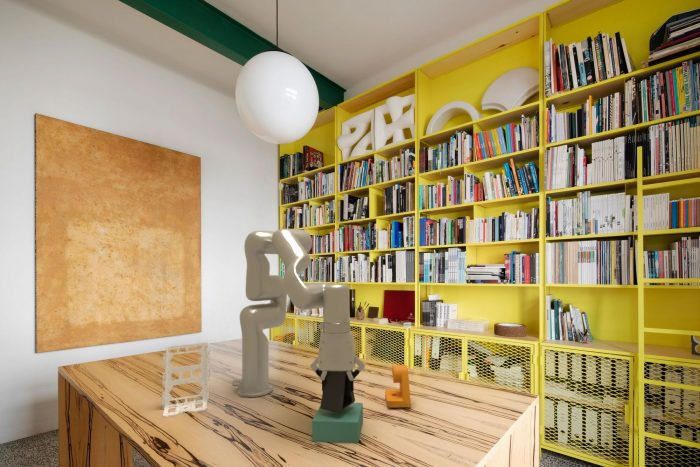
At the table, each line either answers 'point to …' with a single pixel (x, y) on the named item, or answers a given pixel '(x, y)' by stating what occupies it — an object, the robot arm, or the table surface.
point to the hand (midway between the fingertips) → (337, 393)
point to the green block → (338, 424)
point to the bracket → (399, 395)
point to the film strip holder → (185, 381)
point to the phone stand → (336, 392)
